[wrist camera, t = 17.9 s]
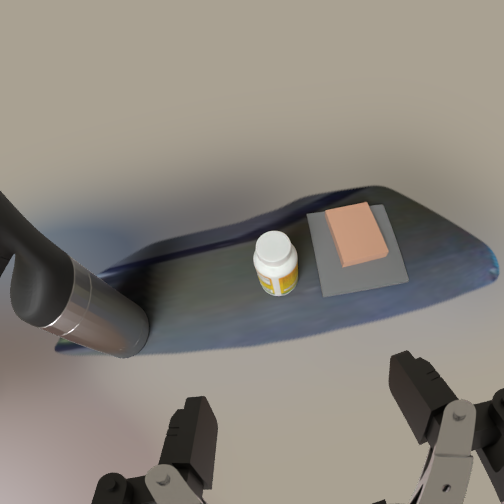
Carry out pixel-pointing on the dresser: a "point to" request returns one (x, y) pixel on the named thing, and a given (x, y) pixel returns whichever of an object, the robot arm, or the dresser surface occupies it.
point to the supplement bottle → (276, 263)
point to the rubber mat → (356, 275)
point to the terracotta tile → (355, 234)
